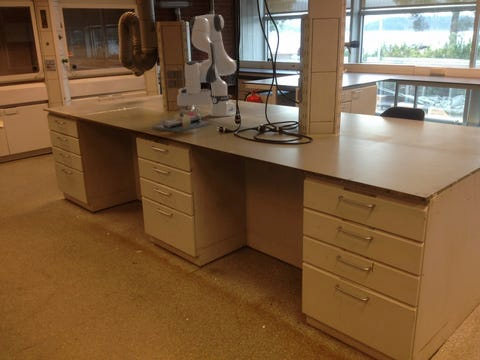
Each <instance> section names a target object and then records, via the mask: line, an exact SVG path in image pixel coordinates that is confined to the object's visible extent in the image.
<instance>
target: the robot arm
mask: <svg viewBox="0 0 480 360" xmlns="http://www.w3.org/2000/svg"><path fill="white" fill-rule="evenodd" d="M189 26H190V30H191V43H192V45H193V47H194V48H196V49H197V50H199V51H202V52H204V53H207V54H208V59H204V60H202V62H201V65H199V62H198V61H196V60H191V61H190V60H189V61H186V62H185V64H184V78H185V86H184V87H181V88H179V89H178V94H177V97H176V102H177V103H176V105H177V106H178V107H186V106H187V107H188V106H189V107H190V109H191V111H192V112H194V114H196V113H198V109H199V107H200V106H203V105H204V106H205V105H211V106H210V113H209V114H210V116H211V117H231V116H234V115H237V114H236V111H237V107H236V105H235V103H233V102H232V101H231V100H230V99H231V98H232V95H231V94H228V84H227V82H226V81H224V80H223V79H222V78H221V77H220V76H229V75H233V74H235V73H236V70H237V64H236V61H235V60H234V59H233V58H232V57H230V55H228V54H227V52H226V50H225V47H224V43H223V35H222V32H221V31H223V29H224V26H225V20H224V18H223V16H222V15H221V14H216V13H215V14H204V15H196V16H193V17H192V18H191V19H190V23H189ZM201 83H206V84H207V83H209V84H210V86H211V90H210V89H209V88H201V86H202V85H201ZM194 106H195V107H196V108H195V109H194V108H193V107H194Z"/></svg>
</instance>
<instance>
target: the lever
mask: <svg viewBox="0 0 480 360" xmlns="http://www.w3.org/2000/svg"><path fill="white" fill-rule="evenodd" d="M194 114H195V113H194V112H192V110H188V109H183V108H182V109H179V112H178V115H189V116H194Z"/></svg>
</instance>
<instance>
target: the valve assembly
mask: <svg viewBox="0 0 480 360" xmlns="http://www.w3.org/2000/svg"><path fill="white" fill-rule="evenodd" d="M173 118H174V119H170V120H168V119H164V120H163V121H162V124H158V125H157V124H156V125H154V126H152V130H158V131H165V132H173V133H182V132H185V131H191V130H194V129H198V128H202V127H205V126H206V127H207V126H210V125H213V123H212V121H208V120H207V121H206V120H202V116H201V114H200V113H198V112H197V113H194V116H189V115H186V114H185V115H179V114H177V115H176V114H175V115H173Z"/></svg>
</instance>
